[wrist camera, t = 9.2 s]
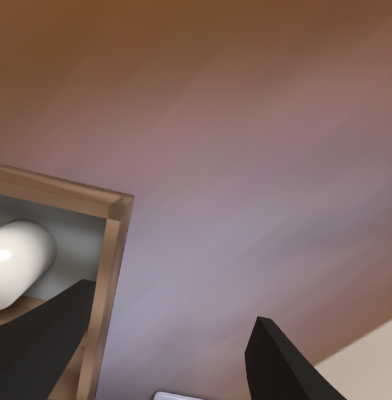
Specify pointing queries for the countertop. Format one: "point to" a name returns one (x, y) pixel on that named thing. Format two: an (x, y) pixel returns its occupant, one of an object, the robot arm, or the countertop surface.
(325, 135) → the countertop surface
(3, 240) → the white rounded egg-shaped piece
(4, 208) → the bin
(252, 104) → the countertop surface
